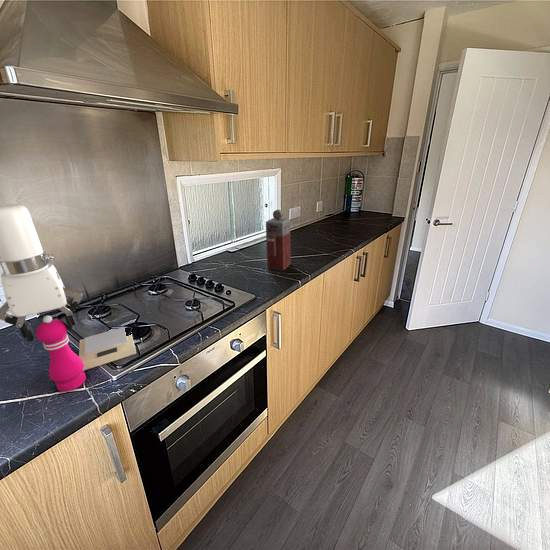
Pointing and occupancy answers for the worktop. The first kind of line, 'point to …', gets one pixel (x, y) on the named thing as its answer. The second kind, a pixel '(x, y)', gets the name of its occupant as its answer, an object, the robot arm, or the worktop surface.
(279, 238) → the red square decanter
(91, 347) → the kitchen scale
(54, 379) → the pepper mill
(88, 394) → the worktop surface
